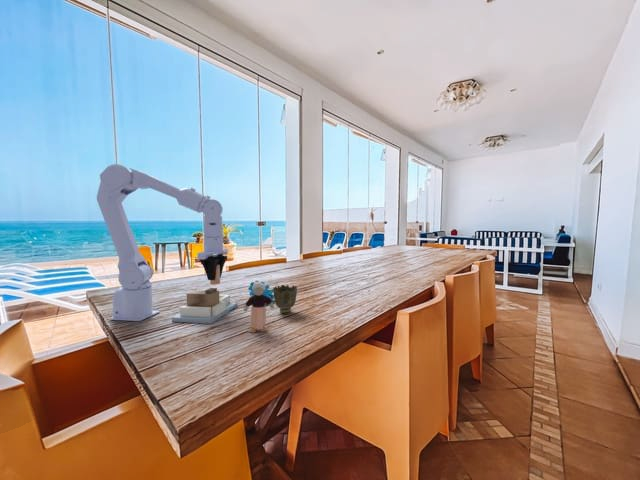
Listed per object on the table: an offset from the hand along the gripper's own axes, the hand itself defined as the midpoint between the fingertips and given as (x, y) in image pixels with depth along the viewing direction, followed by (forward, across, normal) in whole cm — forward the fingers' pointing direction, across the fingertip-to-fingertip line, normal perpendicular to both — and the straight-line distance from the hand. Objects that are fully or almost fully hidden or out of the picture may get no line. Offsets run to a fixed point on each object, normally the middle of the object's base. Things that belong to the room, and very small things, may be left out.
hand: (214, 278), depth 84 cm
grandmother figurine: (+10, -15, -21) cm, 28 cm away
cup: (+10, -1, -24) cm, 26 cm away
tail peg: (+2, 0, 0) cm, 2 cm away
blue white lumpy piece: (+10, +9, -13) cm, 19 cm away
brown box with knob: (+9, -7, 0) cm, 11 cm away
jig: (+10, -4, 0) cm, 11 cm away
